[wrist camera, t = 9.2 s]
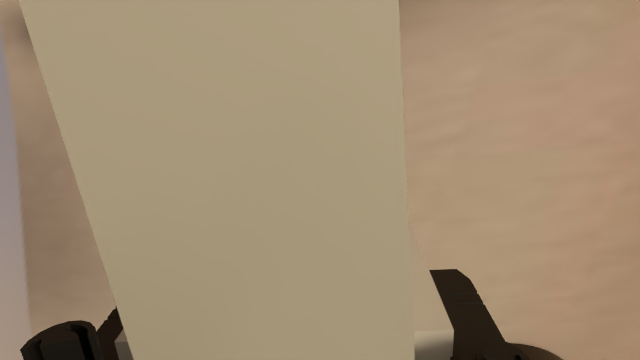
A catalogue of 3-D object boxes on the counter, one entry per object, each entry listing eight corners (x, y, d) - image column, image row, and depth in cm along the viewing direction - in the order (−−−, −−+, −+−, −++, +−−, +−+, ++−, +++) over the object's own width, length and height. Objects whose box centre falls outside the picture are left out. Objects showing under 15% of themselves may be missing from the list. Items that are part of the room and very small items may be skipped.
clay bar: (386, 391, 18) (427, 652, 10) (271, 399, 18) (229, 658, 11) (356, -17, 13) (394, -90, 5) (195, 3, 13) (5, -39, 5)
